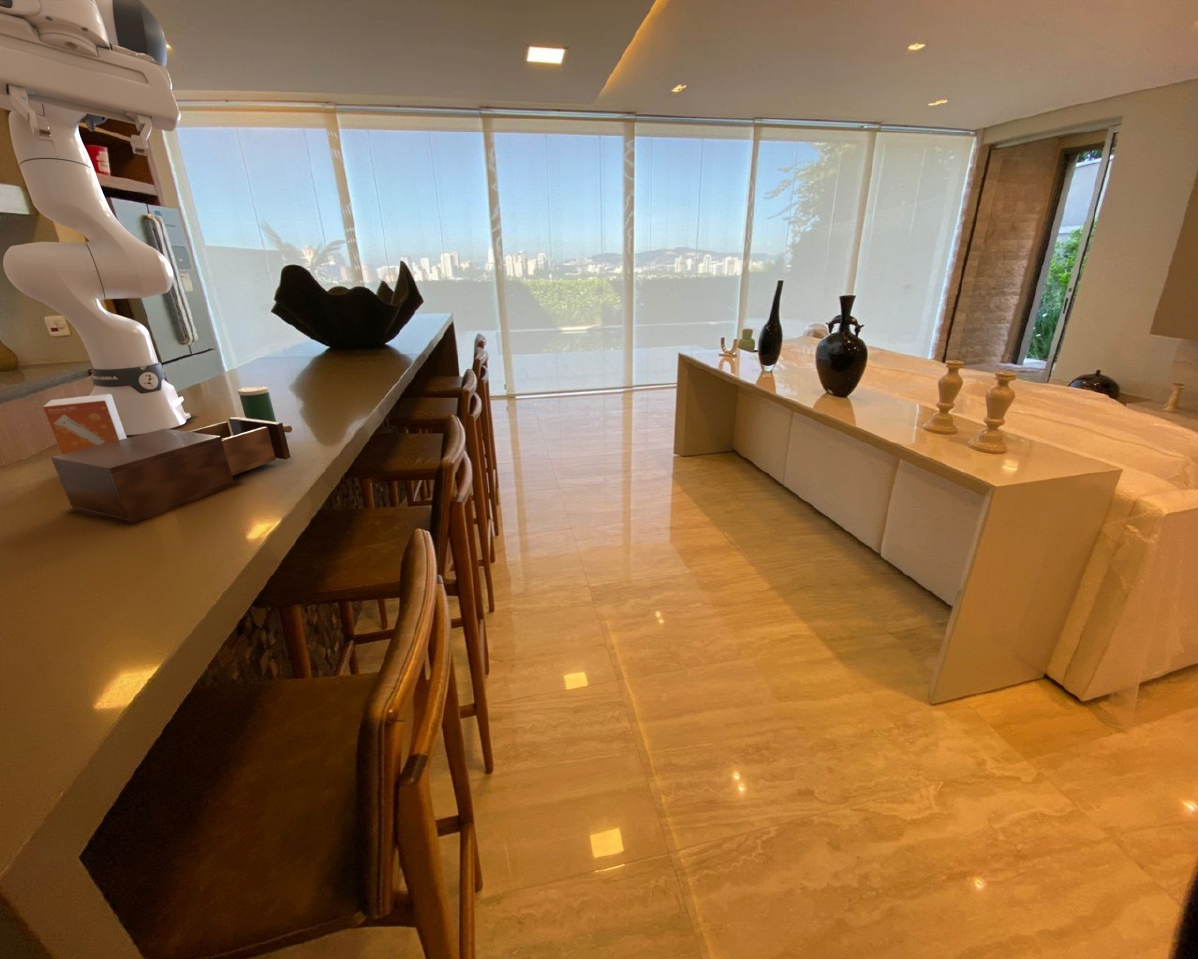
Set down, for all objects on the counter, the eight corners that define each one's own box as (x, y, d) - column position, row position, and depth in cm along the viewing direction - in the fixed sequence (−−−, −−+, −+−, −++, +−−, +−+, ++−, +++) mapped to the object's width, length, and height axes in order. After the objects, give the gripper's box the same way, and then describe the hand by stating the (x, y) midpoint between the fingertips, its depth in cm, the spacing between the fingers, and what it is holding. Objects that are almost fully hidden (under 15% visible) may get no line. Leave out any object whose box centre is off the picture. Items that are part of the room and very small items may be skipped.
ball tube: (245, 442, 111) (231, 390, 106) (268, 435, 115) (255, 385, 111) (263, 445, 109) (250, 392, 105) (286, 437, 113) (274, 387, 109)
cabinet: (180, 475, 93) (165, 428, 90) (235, 485, 89) (221, 436, 85) (73, 511, 80) (50, 457, 76) (131, 524, 75) (109, 468, 72)
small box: (71, 479, 92) (40, 406, 87) (78, 469, 96) (50, 399, 92) (131, 470, 96) (105, 399, 91) (135, 460, 101) (111, 393, 96)
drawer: (263, 444, 106) (254, 411, 104) (309, 450, 102) (301, 416, 100) (164, 476, 90) (151, 438, 88) (214, 485, 86) (202, 446, 84)
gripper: (161, 74, 76) (188, 173, 77) (-60, 12, 61) (-23, 136, 63) (169, 46, 72) (197, 151, 73) (-68, -28, 57) (-27, 106, 58)
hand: (94, 144), depth 68 cm, fingers open, 8 cm apart
